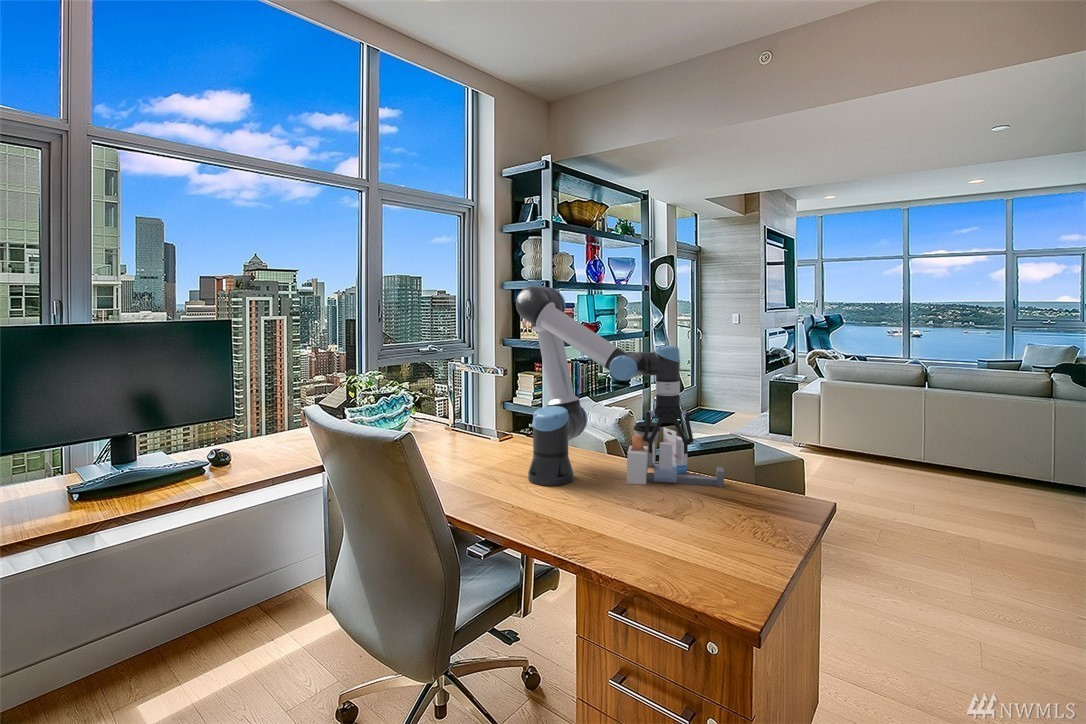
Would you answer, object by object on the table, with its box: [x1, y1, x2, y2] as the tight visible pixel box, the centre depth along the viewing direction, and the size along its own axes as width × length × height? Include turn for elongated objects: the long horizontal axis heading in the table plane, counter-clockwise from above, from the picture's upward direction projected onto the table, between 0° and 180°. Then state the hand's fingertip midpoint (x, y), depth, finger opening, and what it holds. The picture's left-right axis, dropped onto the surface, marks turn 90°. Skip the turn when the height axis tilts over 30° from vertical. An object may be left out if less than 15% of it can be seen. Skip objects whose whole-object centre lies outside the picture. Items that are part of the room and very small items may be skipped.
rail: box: [646, 466, 725, 488], centre depth 175 cm, size 24×5×5 cm, turn 76°
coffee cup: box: [633, 421, 661, 468], centre depth 195 cm, size 9×9×15 cm
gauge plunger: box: [631, 434, 643, 450], centre depth 177 cm, size 4×4×4 cm
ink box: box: [662, 426, 689, 475], centre depth 188 cm, size 8×5×15 cm, turn 20°
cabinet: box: [626, 444, 649, 485], centre depth 178 cm, size 6×10×10 cm, turn 166°
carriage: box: [653, 441, 678, 483], centre depth 176 cm, size 7×9×12 cm
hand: (668, 462), depth 176 cm, fingers open, 8 cm apart
